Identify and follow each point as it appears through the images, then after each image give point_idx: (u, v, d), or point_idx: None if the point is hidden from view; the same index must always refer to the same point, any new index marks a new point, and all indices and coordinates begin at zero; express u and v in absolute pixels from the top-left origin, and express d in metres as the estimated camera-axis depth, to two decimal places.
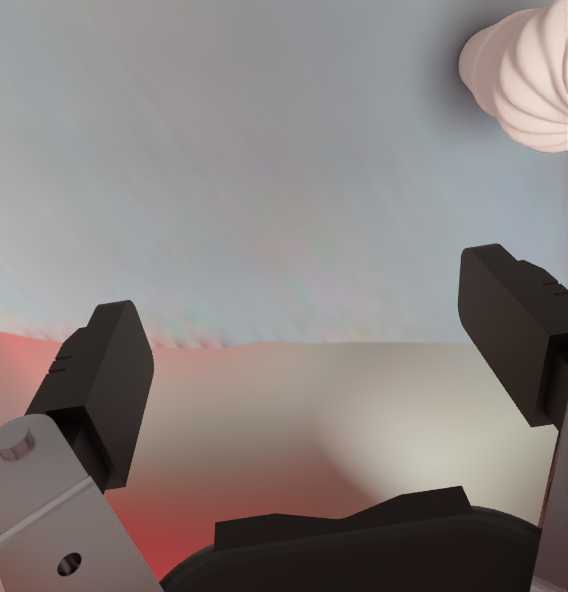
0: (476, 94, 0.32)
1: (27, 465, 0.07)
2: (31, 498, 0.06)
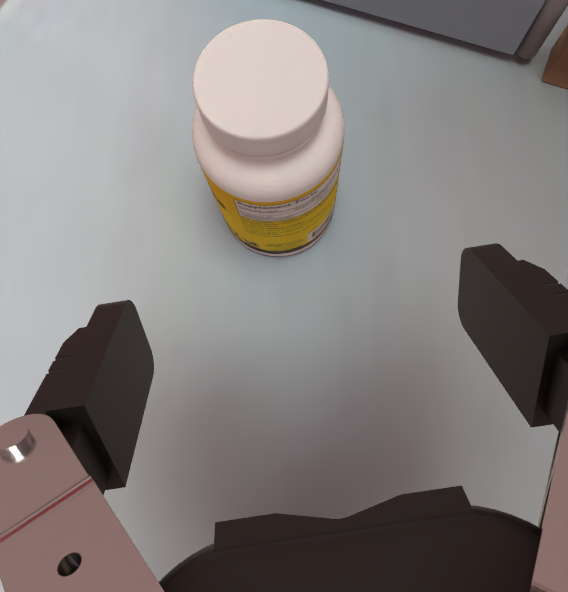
0: None
1: (28, 465, 0.07)
2: (31, 498, 0.06)
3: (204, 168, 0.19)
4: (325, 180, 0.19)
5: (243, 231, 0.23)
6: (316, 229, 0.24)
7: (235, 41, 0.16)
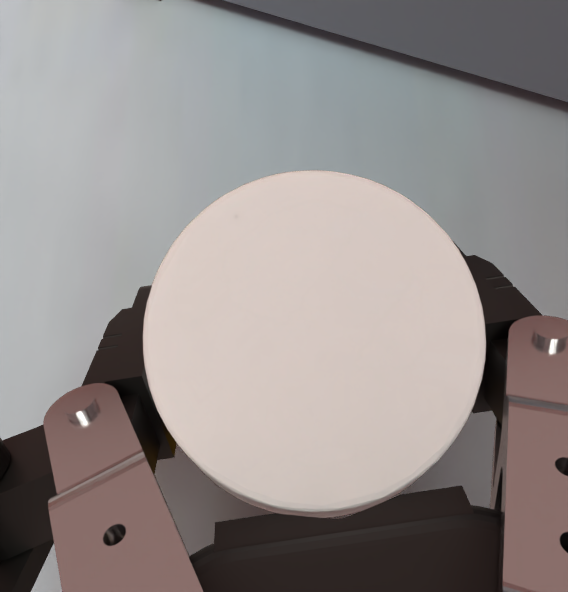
0: None
1: (90, 431, 0.07)
2: (106, 455, 0.07)
3: None
4: None
5: None
6: None
7: (248, 229, 0.07)
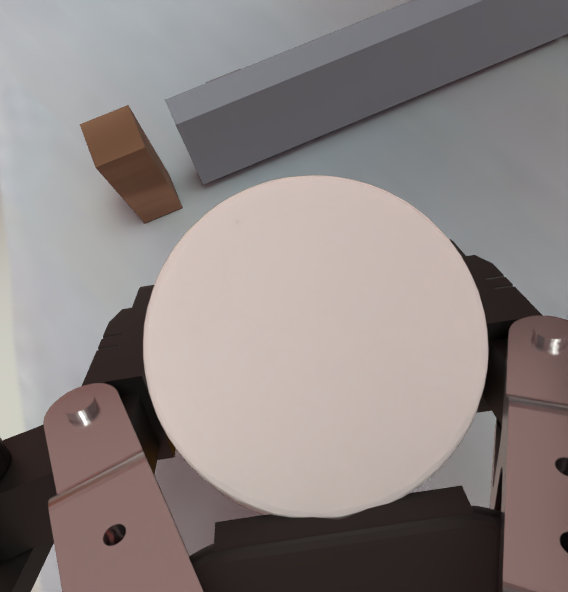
0: None
1: (89, 432, 0.07)
2: (106, 456, 0.07)
3: None
4: None
5: None
6: None
7: (249, 235, 0.07)
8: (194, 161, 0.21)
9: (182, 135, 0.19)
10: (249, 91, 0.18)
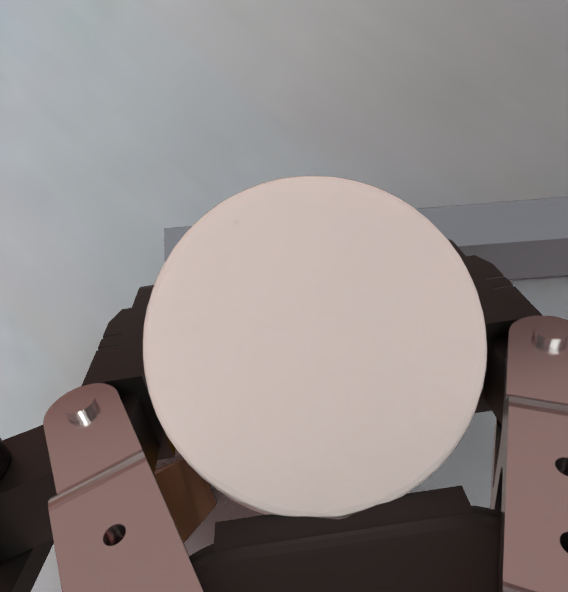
0: None
1: (90, 431, 0.07)
2: (106, 456, 0.07)
3: None
4: None
5: None
6: None
7: (248, 235, 0.07)
8: None
9: None
10: None
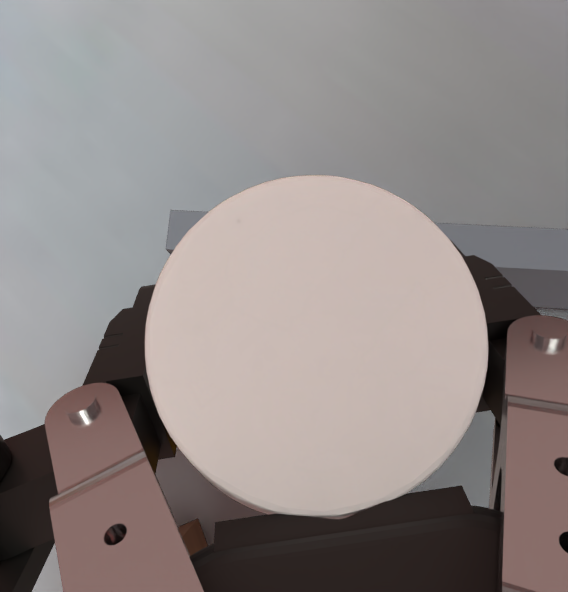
0: None
1: (91, 431, 0.07)
2: (107, 455, 0.07)
3: None
4: None
5: None
6: None
7: (250, 234, 0.07)
8: None
9: None
10: None
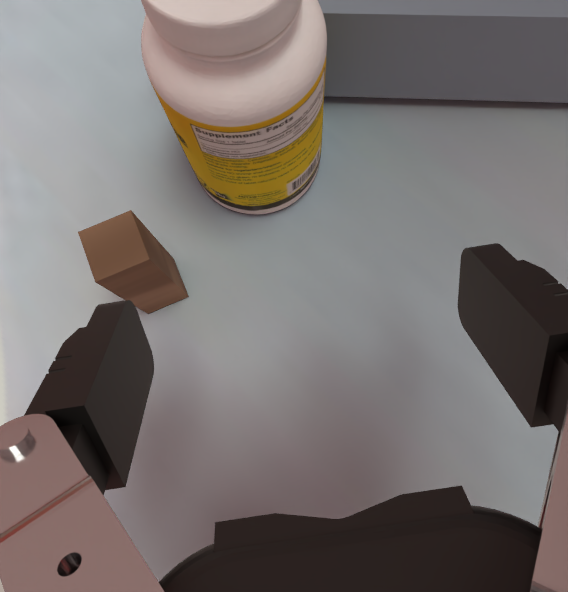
0: None
1: (28, 465, 0.07)
2: (31, 498, 0.06)
3: (154, 84, 0.15)
4: (302, 103, 0.15)
5: (210, 177, 0.19)
6: (297, 179, 0.20)
7: None
8: None
9: None
10: None
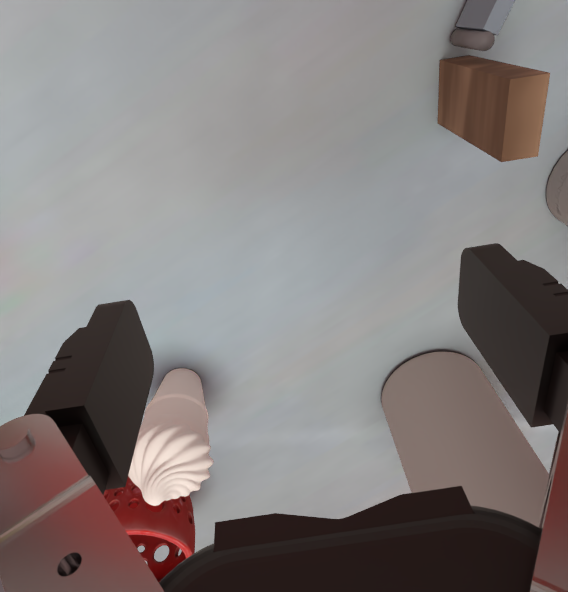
0: (156, 400, 0.48)
1: (27, 465, 0.07)
2: (31, 498, 0.06)
3: None
4: None
5: None
6: None
7: None
8: None
9: None
10: None
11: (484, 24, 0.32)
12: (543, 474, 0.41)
